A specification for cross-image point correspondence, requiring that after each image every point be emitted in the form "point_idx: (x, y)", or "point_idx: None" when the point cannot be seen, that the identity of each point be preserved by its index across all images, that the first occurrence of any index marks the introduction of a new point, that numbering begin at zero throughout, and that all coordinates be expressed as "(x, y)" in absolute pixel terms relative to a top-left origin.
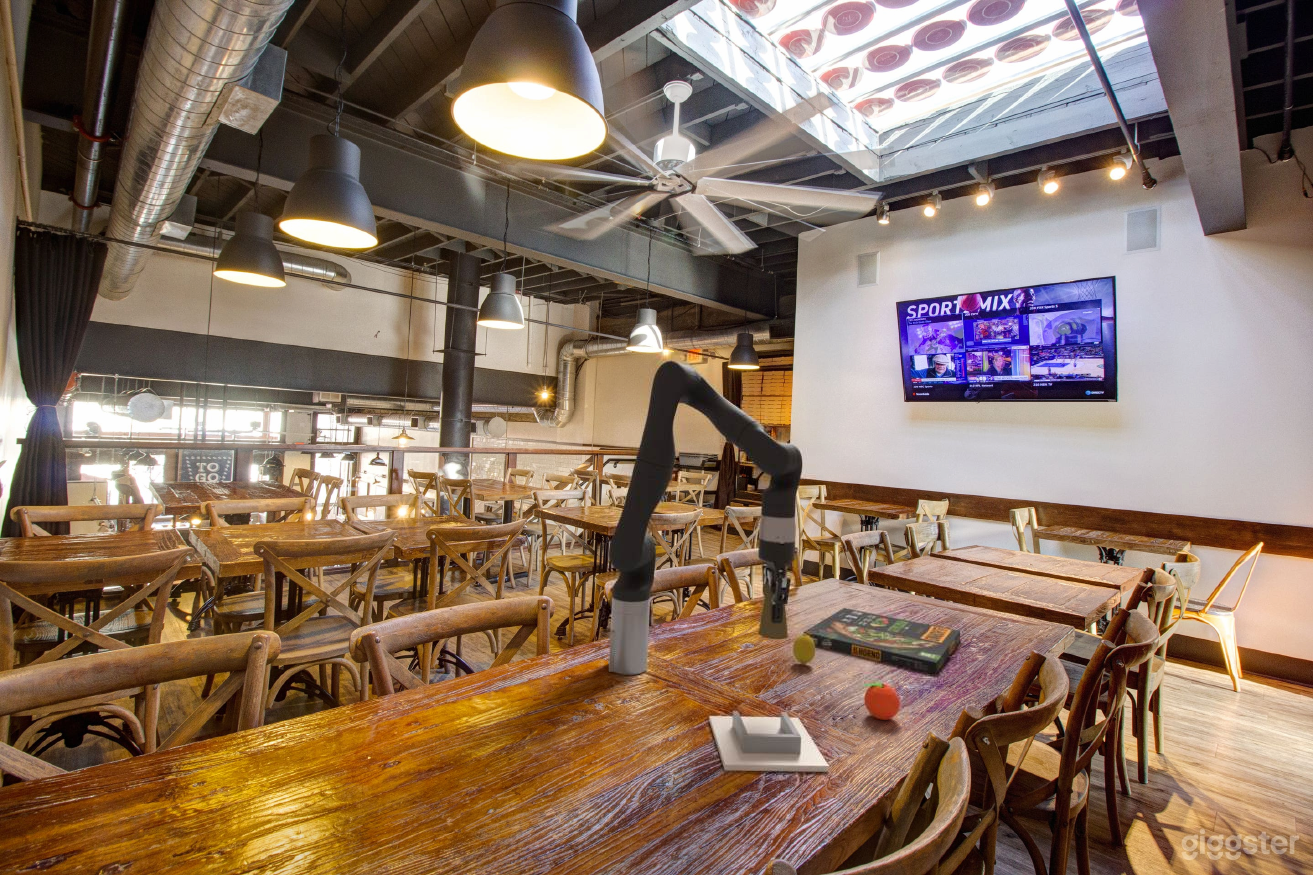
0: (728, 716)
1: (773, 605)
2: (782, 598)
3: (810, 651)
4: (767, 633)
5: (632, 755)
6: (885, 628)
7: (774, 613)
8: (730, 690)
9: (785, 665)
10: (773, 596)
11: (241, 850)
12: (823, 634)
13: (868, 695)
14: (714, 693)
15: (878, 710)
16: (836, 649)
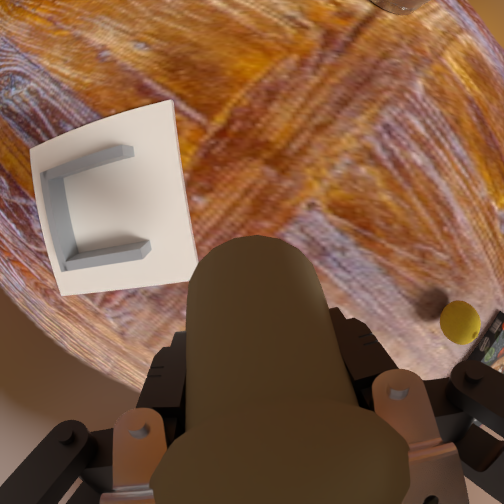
0: (174, 137)
1: (156, 408)
2: (88, 484)
3: (446, 333)
4: (193, 279)
5: (63, 28)
6: None
7: (160, 374)
8: (334, 151)
9: (445, 279)
10: (113, 467)
11: None
12: (497, 344)
13: None
14: (312, 114)
15: None
16: (472, 353)
